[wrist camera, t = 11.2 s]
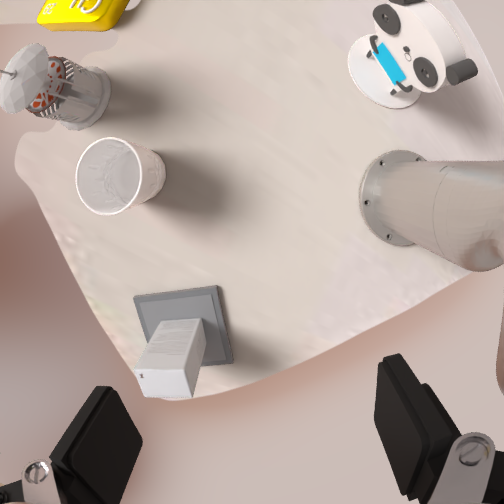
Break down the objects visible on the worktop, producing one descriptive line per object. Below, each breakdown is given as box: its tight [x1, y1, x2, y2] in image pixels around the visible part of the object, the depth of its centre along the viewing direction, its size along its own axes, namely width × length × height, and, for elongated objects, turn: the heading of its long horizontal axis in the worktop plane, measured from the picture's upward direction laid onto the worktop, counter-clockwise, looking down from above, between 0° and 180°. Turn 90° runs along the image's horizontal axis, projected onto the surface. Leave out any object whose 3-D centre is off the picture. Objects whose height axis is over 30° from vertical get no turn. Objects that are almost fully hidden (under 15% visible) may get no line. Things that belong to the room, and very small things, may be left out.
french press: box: [0, 43, 111, 131], centre depth 22 cm, size 10×12×25 cm
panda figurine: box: [348, 0, 478, 109], centre depth 25 cm, size 12×11×15 cm
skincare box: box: [133, 318, 206, 398], centre depth 35 cm, size 6×4×12 cm
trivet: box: [133, 285, 233, 366], centre depth 42 cm, size 12×12×1 cm
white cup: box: [76, 137, 166, 216], centre depth 32 cm, size 8×8×10 cm
